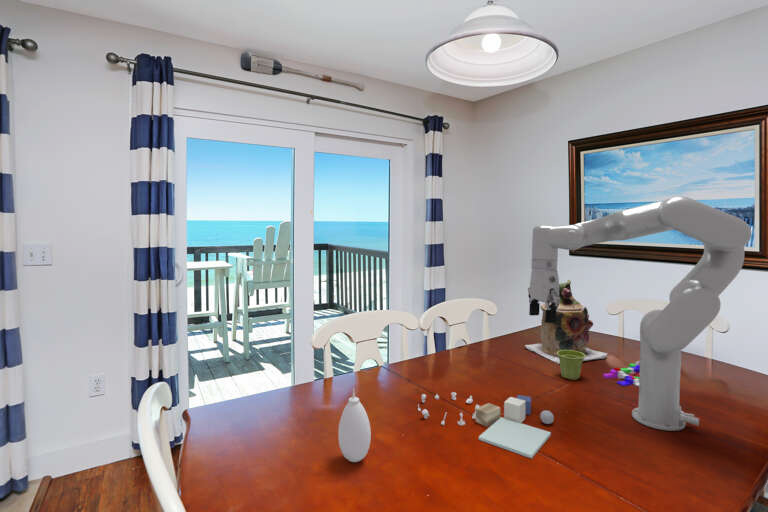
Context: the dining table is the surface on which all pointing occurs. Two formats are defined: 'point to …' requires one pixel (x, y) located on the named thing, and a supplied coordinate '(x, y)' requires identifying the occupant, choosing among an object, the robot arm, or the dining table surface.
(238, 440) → the dining table surface
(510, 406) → the cream block
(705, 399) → the dining table surface
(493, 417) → the sand wood block
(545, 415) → the grey ball
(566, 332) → the cookie jar
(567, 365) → the plant pot
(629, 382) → the building block set
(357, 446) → the white air blower bulb
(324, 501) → the dining table surface
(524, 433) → the seafoam tile
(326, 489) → the dining table surface
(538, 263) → the robot arm
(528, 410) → the blue cube
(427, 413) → the game piece set
